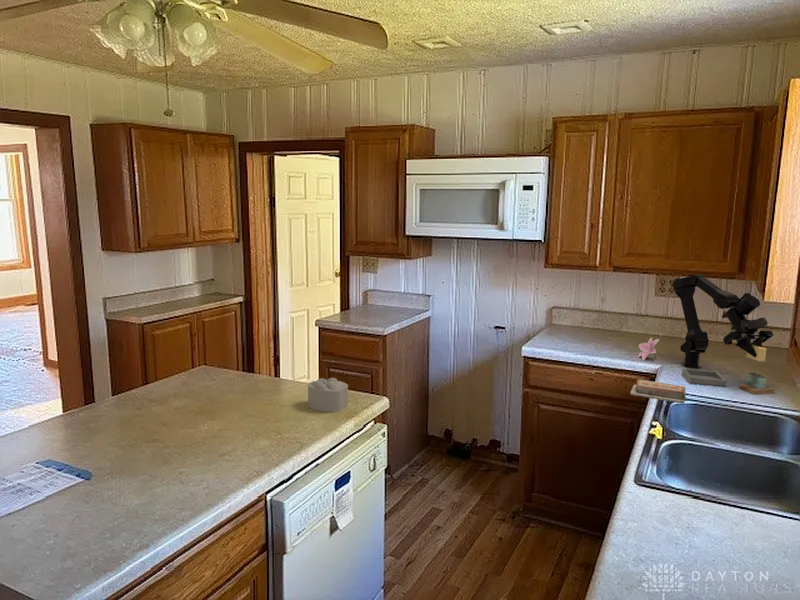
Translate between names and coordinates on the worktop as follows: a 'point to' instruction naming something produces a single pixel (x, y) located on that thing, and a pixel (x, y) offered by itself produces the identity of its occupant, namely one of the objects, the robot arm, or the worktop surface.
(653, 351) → the lily
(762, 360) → the stub
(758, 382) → the ticket holder
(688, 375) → the stub tray
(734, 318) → the robot arm
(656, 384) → the packaged product
